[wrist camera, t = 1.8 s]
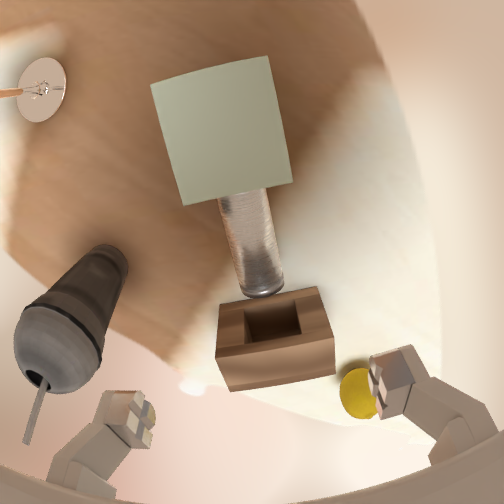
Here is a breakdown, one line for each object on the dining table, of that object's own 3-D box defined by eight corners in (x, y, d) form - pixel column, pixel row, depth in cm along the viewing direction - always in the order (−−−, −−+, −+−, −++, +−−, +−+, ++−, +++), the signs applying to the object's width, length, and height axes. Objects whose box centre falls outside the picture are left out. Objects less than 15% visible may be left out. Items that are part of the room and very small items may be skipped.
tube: (193, 93, 20) (184, 91, 17) (242, 81, 20) (242, 77, 17) (241, 277, 28) (241, 302, 24) (281, 269, 27) (286, 293, 24)
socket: (219, 304, 31) (214, 358, 25) (316, 286, 31) (334, 337, 24) (231, 338, 34) (230, 392, 27) (320, 322, 33) (335, 373, 26)
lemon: (346, 353, 36) (363, 404, 29) (380, 357, 37) (400, 404, 29) (326, 380, 38) (338, 429, 31) (360, 383, 39) (374, 429, 32)
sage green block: (174, 88, 22) (150, 84, 15) (261, 67, 21) (267, 55, 15) (198, 178, 25) (183, 206, 19) (280, 160, 25) (293, 182, 19)
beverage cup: (123, 223, 27) (3, 398, 9) (152, 287, 30) (88, 471, 13) (67, 242, 28) (-50, 388, 10) (96, 299, 31) (20, 454, 13)
